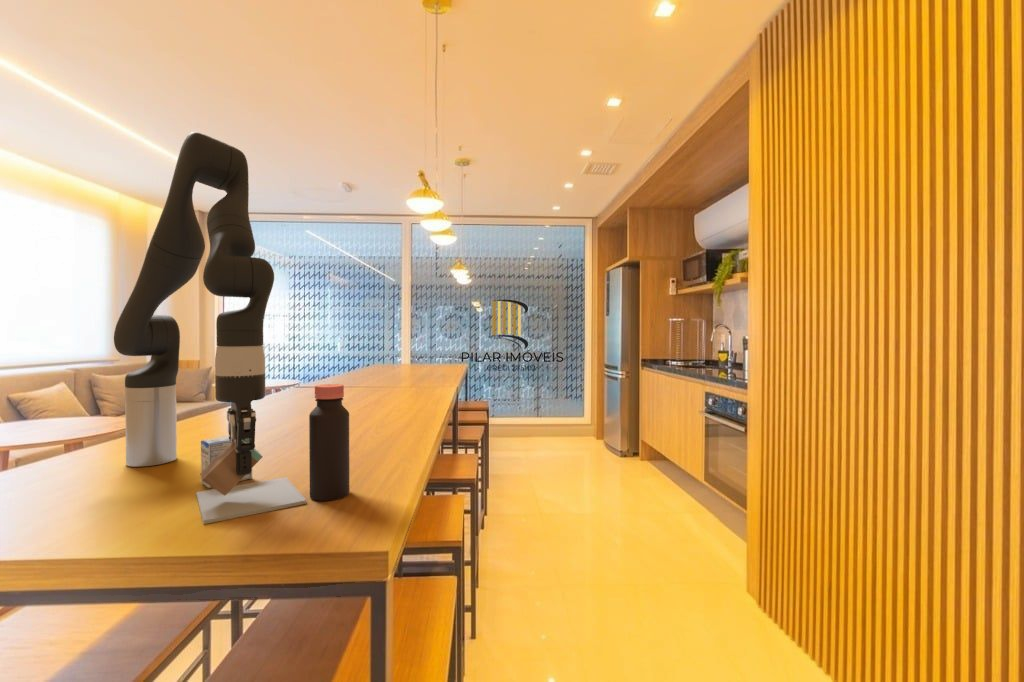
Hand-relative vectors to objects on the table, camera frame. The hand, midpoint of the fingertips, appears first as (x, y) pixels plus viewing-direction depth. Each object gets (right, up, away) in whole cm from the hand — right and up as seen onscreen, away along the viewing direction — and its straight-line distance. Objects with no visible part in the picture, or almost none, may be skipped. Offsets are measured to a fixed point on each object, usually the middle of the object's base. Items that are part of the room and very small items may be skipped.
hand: (241, 470), depth 83 cm
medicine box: (-9, -6, +12) cm, 16 cm away
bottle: (+14, -6, +4) cm, 15 cm away
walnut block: (-3, -2, -3) cm, 5 cm away
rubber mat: (+1, -6, +2) cm, 6 cm away
